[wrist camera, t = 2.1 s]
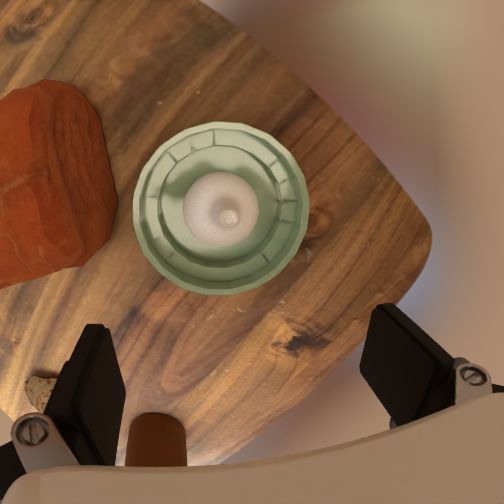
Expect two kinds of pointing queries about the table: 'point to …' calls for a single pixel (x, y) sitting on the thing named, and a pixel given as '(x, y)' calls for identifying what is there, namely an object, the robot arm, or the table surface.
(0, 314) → the table surface
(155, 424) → the mug
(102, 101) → the table surface
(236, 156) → the bowl
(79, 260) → the bread
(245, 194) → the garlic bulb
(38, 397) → the seashell
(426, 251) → the table surface
